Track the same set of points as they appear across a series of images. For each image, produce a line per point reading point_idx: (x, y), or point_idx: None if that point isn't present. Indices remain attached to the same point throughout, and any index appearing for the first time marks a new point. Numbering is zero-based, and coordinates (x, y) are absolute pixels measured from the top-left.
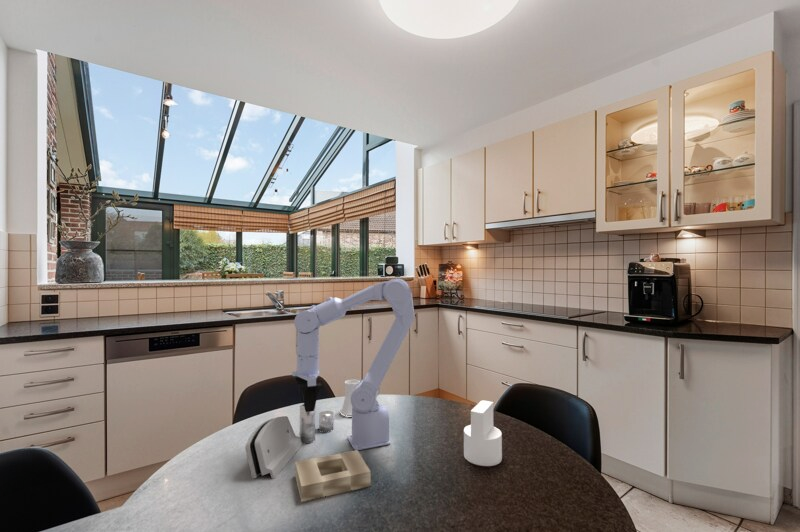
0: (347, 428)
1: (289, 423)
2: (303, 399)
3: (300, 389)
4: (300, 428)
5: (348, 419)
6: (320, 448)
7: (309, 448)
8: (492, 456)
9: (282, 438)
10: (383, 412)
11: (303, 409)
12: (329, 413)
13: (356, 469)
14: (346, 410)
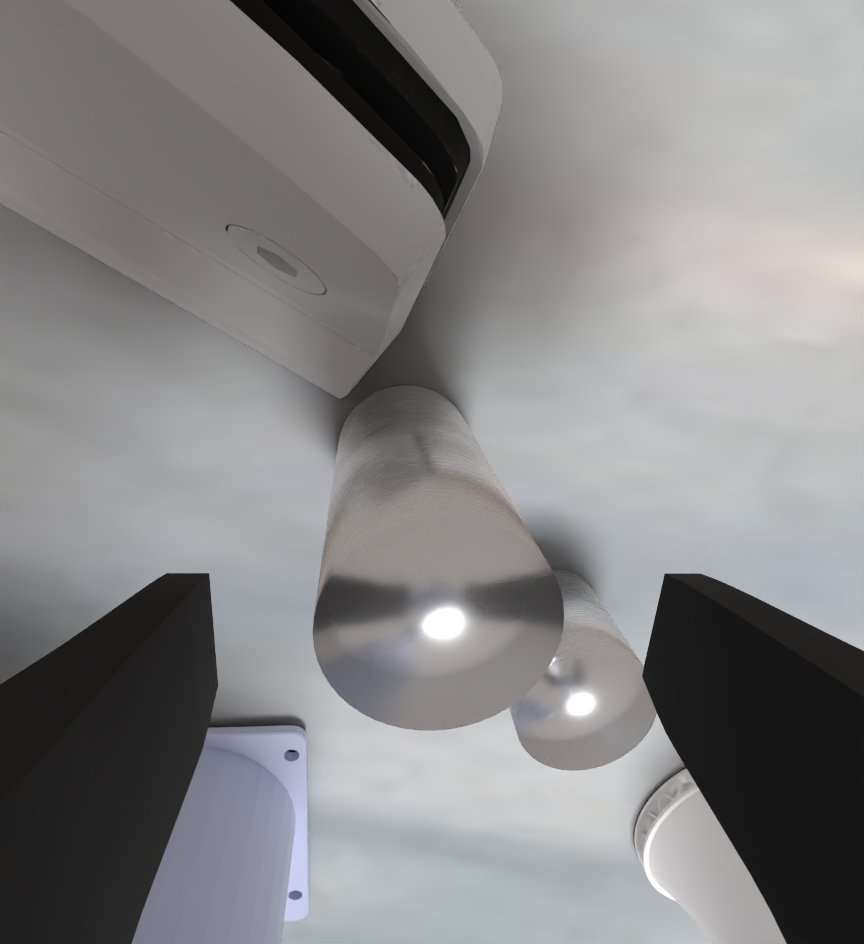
0: (478, 750)
1: (372, 299)
2: (63, 694)
3: (849, 713)
4: (390, 422)
5: (628, 782)
6: (207, 521)
7: (239, 441)
8: None
9: (104, 159)
10: None
11: (346, 552)
12: (571, 738)
13: None
14: (710, 821)
